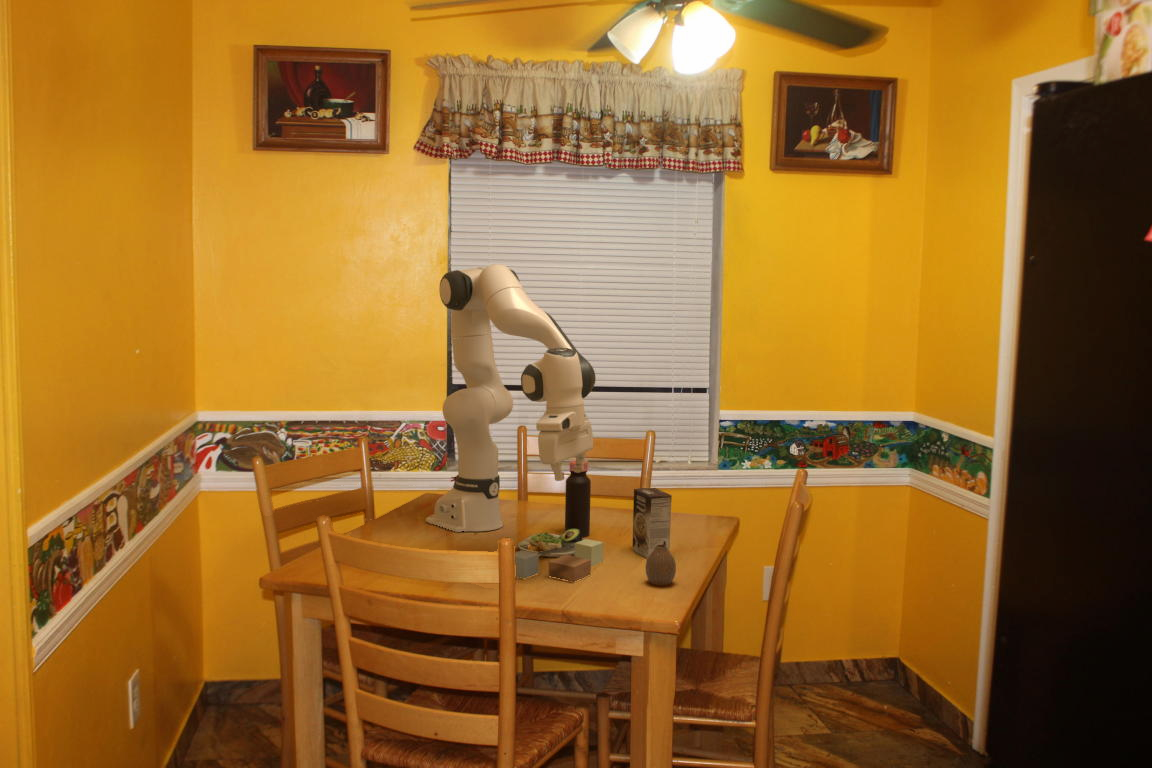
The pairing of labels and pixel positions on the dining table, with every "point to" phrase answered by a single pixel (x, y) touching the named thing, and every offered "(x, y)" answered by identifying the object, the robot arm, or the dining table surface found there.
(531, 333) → the robot arm
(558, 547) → the salad plate
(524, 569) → the grey cube
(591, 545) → the green cube
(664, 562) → the brown rounded piece
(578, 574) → the walnut base
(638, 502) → the coffee box
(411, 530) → the dining table surface
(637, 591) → the dining table surface
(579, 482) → the bottle
